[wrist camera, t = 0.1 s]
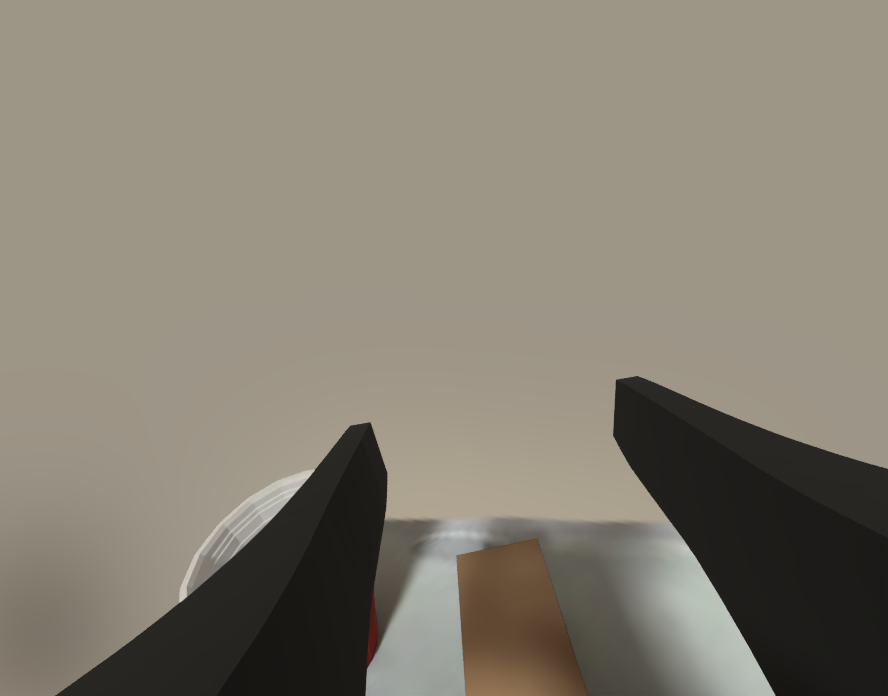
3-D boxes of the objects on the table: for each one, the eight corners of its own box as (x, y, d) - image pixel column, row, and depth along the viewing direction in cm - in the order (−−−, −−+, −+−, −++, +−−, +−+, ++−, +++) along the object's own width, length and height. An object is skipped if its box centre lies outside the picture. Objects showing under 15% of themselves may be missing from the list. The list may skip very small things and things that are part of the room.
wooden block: (645, 912, 14) (637, 849, 12) (511, 931, 14) (477, 873, 12) (550, 601, 25) (537, 538, 23) (477, 616, 25) (456, 555, 23)
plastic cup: (219, 723, 22) (123, 604, 18) (323, 565, 32) (277, 461, 27) (359, 801, 18) (280, 672, 14) (432, 594, 28) (399, 477, 23)
